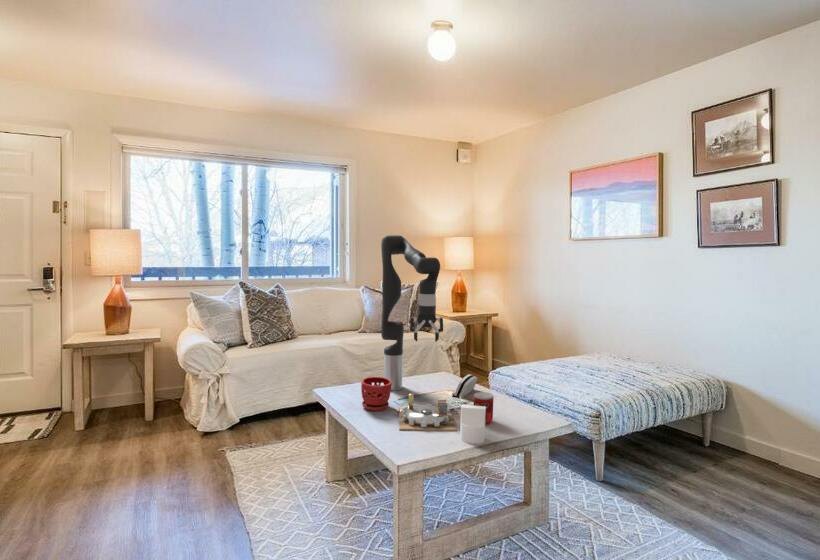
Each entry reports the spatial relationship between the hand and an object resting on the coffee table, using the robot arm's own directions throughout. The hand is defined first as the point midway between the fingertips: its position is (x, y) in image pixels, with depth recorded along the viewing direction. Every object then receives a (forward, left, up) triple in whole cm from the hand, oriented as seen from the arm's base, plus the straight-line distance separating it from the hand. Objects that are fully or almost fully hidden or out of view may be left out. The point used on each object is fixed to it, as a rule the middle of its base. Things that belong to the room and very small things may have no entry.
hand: (426, 341), depth 203 cm
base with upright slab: (+32, +16, -30) cm, 47 cm away
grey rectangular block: (+14, +6, -26) cm, 31 cm away
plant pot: (0, -21, -30) cm, 37 cm away
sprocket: (+14, 0, -30) cm, 33 cm away
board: (+14, 0, -30) cm, 33 cm away
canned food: (+15, +23, -30) cm, 40 cm away
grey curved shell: (-21, +21, -30) cm, 42 cm away
